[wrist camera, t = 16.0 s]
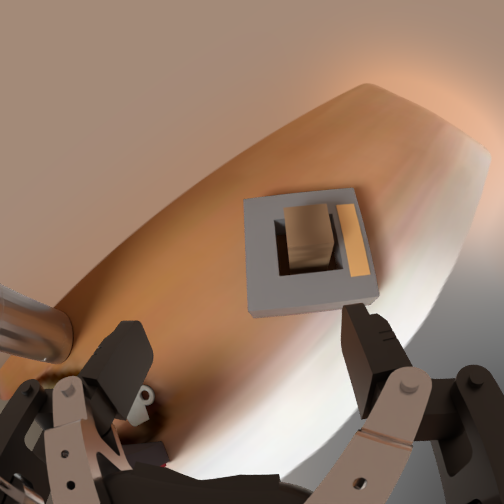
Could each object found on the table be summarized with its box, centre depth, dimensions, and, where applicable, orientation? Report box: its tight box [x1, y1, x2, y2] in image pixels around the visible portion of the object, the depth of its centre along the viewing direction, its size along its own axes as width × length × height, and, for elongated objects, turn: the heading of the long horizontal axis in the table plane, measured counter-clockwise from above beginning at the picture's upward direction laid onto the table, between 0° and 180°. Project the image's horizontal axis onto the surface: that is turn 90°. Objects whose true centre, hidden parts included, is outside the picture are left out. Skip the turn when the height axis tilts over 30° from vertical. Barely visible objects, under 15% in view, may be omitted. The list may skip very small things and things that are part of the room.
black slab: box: [121, 441, 169, 469], centre depth 19 cm, size 11×4×15 cm, turn 110°
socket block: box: [243, 188, 379, 318], centre depth 32 cm, size 14×14×4 cm
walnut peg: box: [283, 204, 334, 275], centre depth 30 cm, size 4×4×8 cm
